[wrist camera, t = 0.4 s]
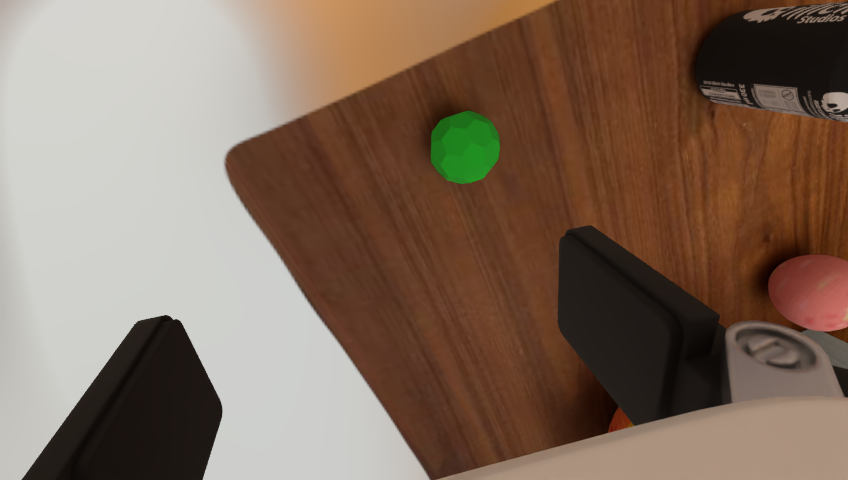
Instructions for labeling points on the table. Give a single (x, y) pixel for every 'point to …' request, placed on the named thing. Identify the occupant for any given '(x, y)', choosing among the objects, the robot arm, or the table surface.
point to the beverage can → (780, 61)
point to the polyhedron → (464, 147)
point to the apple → (812, 291)
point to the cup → (830, 347)
